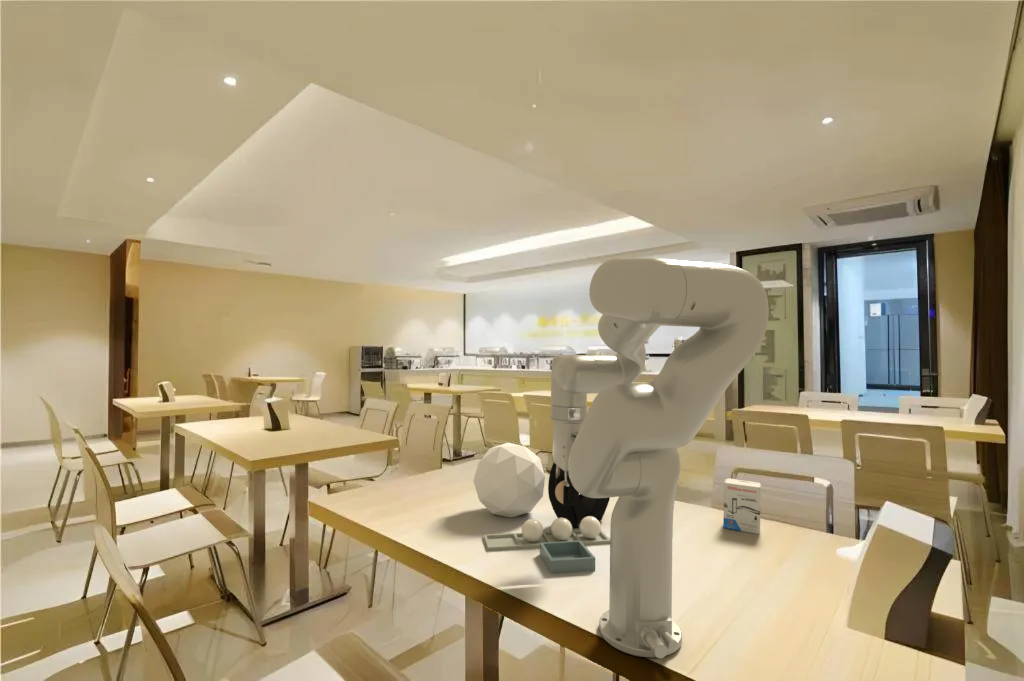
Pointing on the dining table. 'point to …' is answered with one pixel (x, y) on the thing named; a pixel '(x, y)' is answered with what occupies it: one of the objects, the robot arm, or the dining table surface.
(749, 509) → the ink box
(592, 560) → the dish
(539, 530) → the white egg
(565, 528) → the white egg
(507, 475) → the polyhedron
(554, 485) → the headphones
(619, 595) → the robot arm
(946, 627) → the dining table surface
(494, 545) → the carton
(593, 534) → the white egg
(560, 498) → the brown egg
